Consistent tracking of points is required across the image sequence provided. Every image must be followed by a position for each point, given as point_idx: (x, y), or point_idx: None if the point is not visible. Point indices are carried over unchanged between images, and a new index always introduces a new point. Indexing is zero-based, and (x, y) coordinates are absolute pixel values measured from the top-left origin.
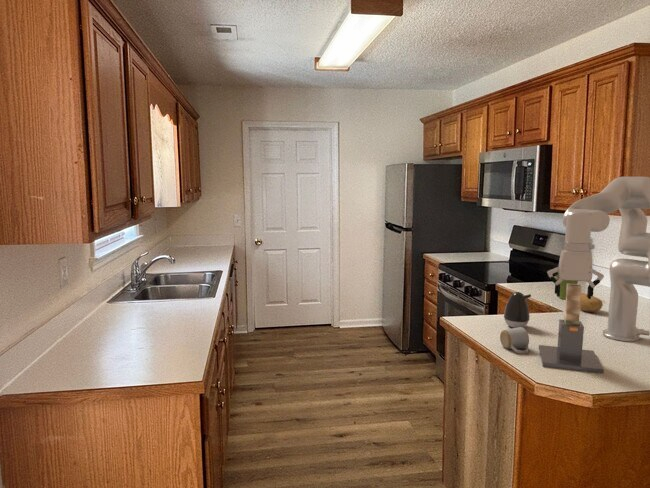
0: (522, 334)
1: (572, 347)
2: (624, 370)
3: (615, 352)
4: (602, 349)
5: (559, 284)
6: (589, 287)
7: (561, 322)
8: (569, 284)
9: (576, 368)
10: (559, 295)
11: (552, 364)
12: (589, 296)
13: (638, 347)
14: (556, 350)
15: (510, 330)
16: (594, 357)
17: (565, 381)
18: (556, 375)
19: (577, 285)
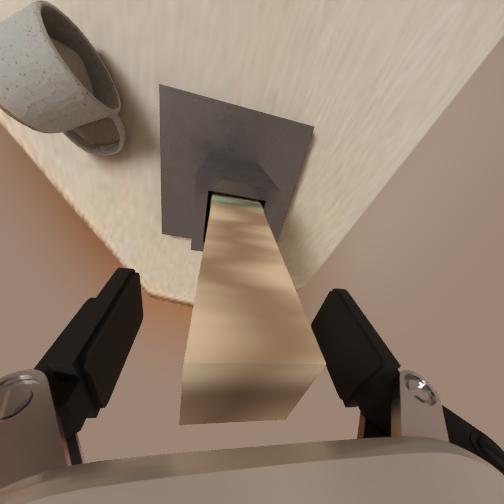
0: (74, 109)
1: None
2: (322, 222)
3: (385, 93)
4: (366, 63)
5: (87, 415)
6: (352, 394)
7: (196, 221)
8: (203, 392)
9: None
10: (139, 323)
11: (182, 235)
12: (318, 341)
13: (499, 18)
14: (208, 141)
15: (6, 93)
16: (290, 184)
17: (197, 283)
18: (186, 265)
19: (272, 401)
